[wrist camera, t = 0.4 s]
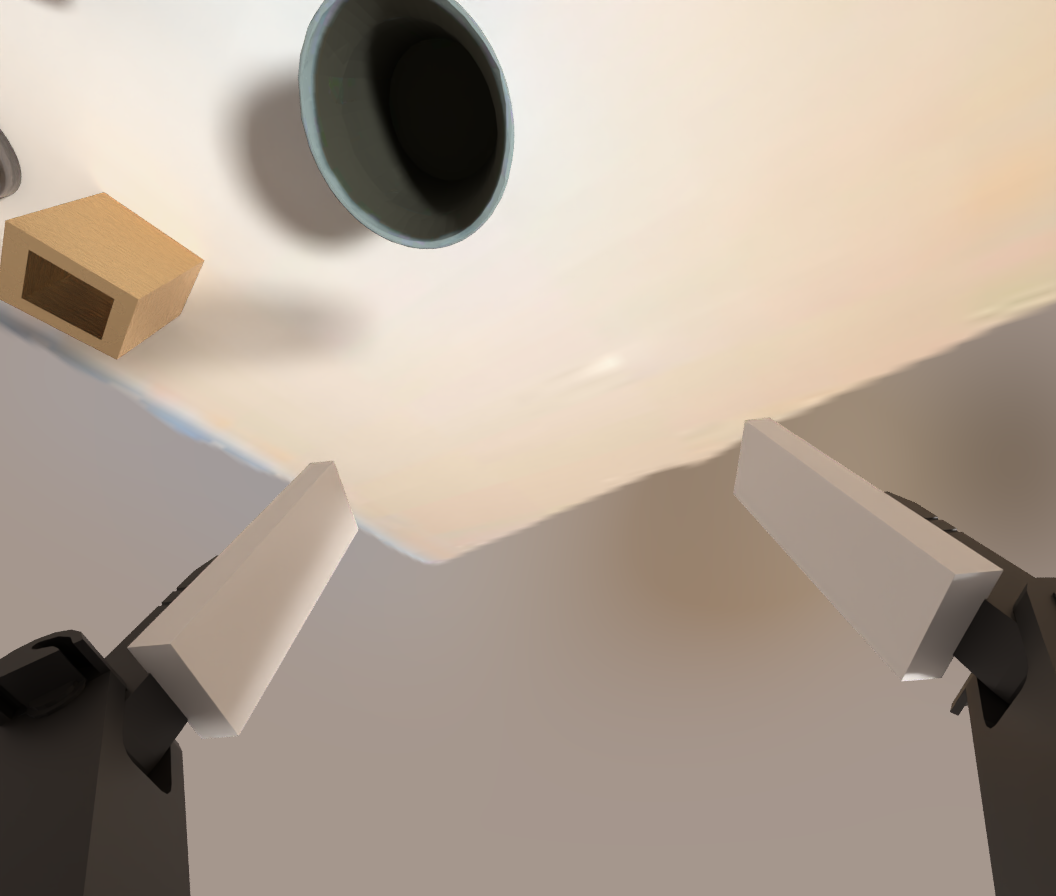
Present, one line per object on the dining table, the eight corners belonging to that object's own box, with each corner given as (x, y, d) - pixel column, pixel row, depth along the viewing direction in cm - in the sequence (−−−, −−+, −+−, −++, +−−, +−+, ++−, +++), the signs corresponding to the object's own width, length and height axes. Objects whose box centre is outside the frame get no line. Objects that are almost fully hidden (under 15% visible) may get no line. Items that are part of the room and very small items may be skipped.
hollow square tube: (103, 192, 30) (5, 220, 25) (204, 260, 34) (138, 299, 28) (87, 259, 34) (-4, 297, 28) (180, 314, 37) (116, 359, 31)
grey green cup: (433, 225, 32) (400, 282, 24) (336, 78, 26) (244, 81, 17) (543, 149, 29) (551, 182, 20) (460, -41, 23) (421, -111, 14)
